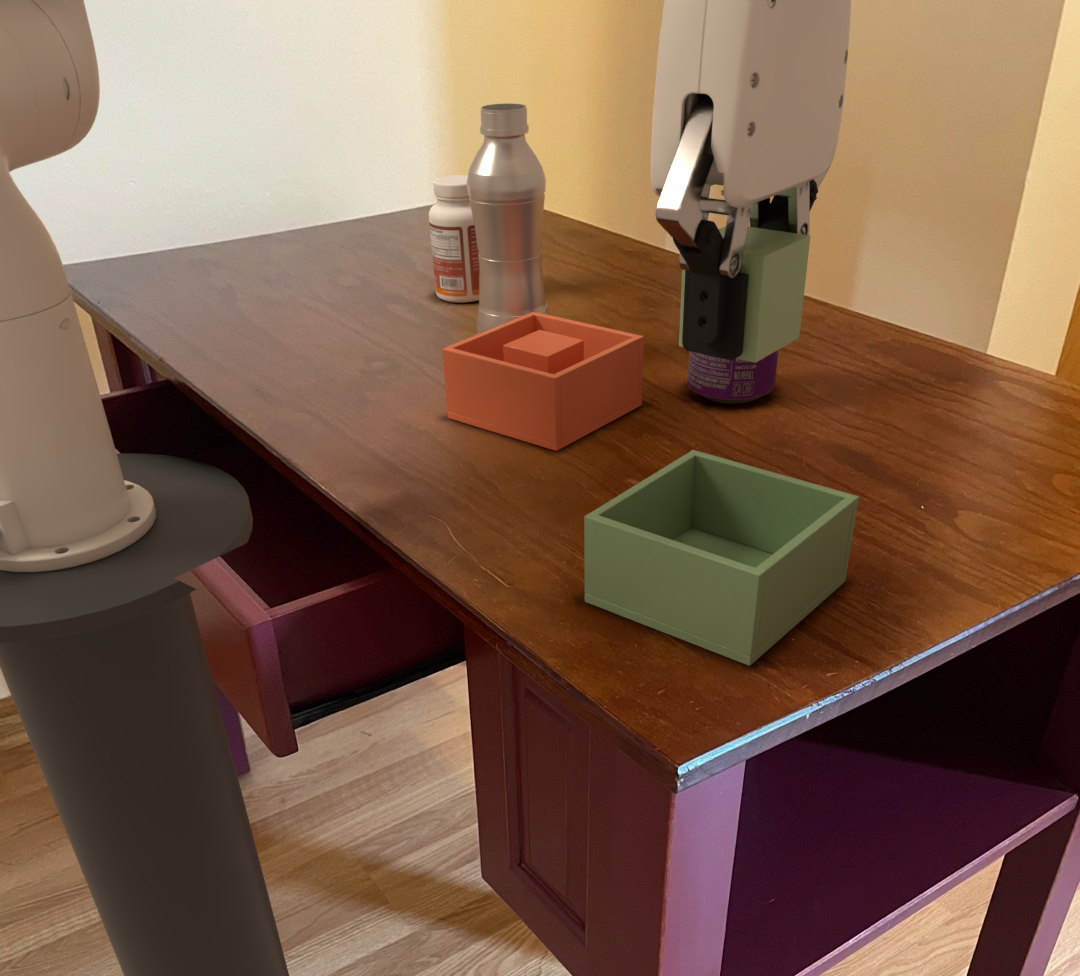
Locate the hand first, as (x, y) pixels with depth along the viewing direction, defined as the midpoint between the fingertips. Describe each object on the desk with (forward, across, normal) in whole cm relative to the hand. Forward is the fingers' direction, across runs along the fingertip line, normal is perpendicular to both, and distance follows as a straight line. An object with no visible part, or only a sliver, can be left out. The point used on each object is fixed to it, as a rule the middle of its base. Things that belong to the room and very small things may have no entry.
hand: (739, 335), depth 56 cm
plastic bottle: (+15, -24, -36) cm, 46 cm away
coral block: (+14, -16, -26) cm, 34 cm away
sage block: (0, 0, 0) cm, 0 cm away
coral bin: (+15, -16, -26) cm, 34 cm away
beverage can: (+15, -28, -16) cm, 35 cm away
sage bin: (+15, 0, 0) cm, 15 cm away
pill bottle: (+15, -36, -53) cm, 66 cm away
